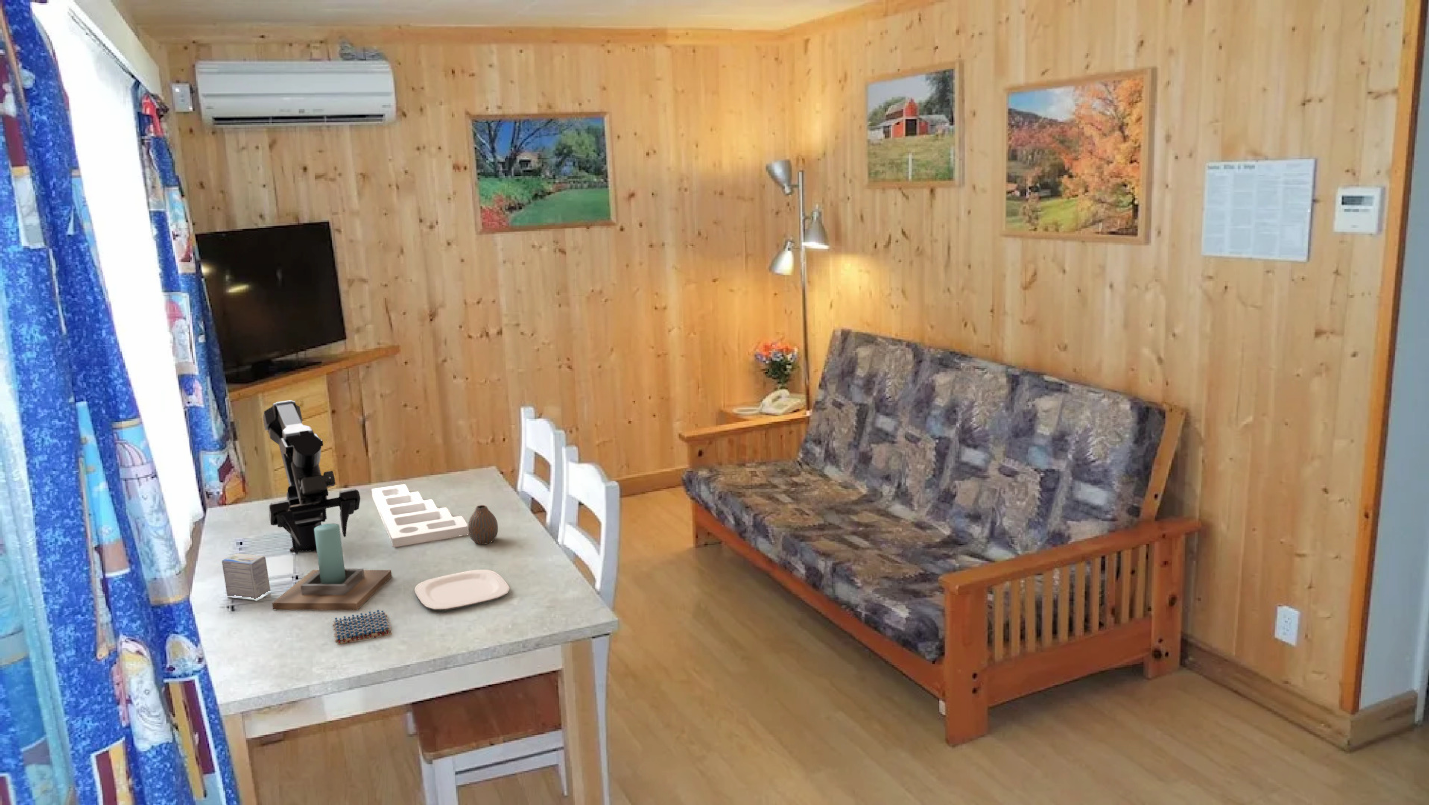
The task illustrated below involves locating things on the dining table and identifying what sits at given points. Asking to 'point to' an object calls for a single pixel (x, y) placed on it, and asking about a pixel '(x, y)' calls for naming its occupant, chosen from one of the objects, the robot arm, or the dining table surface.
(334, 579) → the pin
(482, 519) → the vase
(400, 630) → the dining table surface
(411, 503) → the holder
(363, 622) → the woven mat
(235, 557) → the medicine box
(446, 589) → the plate
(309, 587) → the board
